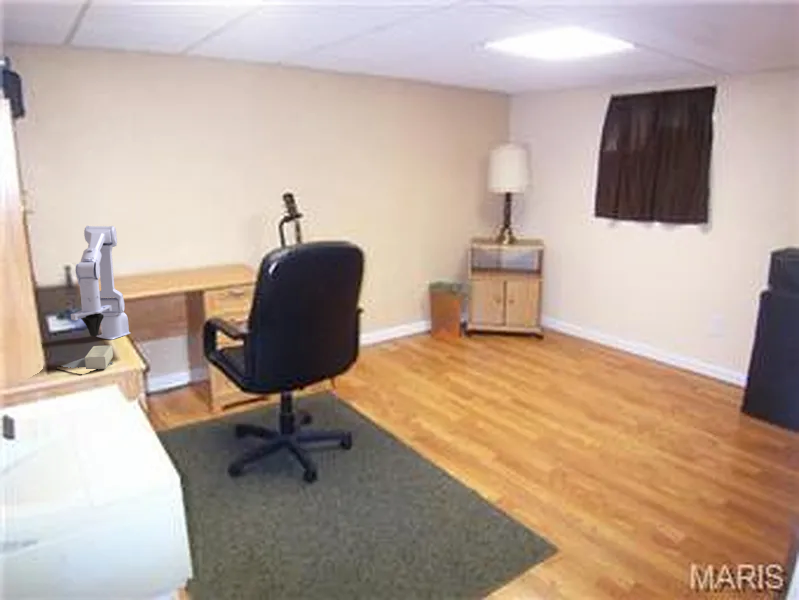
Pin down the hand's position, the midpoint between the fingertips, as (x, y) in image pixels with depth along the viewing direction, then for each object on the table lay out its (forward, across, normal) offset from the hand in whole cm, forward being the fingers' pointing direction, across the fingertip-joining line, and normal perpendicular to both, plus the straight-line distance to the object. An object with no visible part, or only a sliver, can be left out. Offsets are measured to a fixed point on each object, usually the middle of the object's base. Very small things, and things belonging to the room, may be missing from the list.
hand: (94, 335), depth 196 cm
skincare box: (+6, +2, -1) cm, 7 cm away
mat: (+9, -6, -2) cm, 11 cm away
